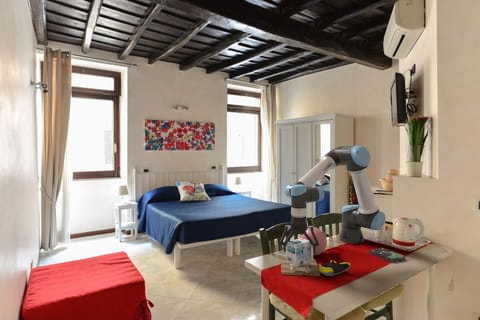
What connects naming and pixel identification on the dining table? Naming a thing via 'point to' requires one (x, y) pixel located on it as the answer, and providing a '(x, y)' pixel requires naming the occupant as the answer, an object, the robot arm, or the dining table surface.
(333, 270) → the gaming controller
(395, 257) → the disk drive
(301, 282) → the dining table surface
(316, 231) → the balloon
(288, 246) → the light bulb box
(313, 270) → the pin board
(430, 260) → the dining table surface
